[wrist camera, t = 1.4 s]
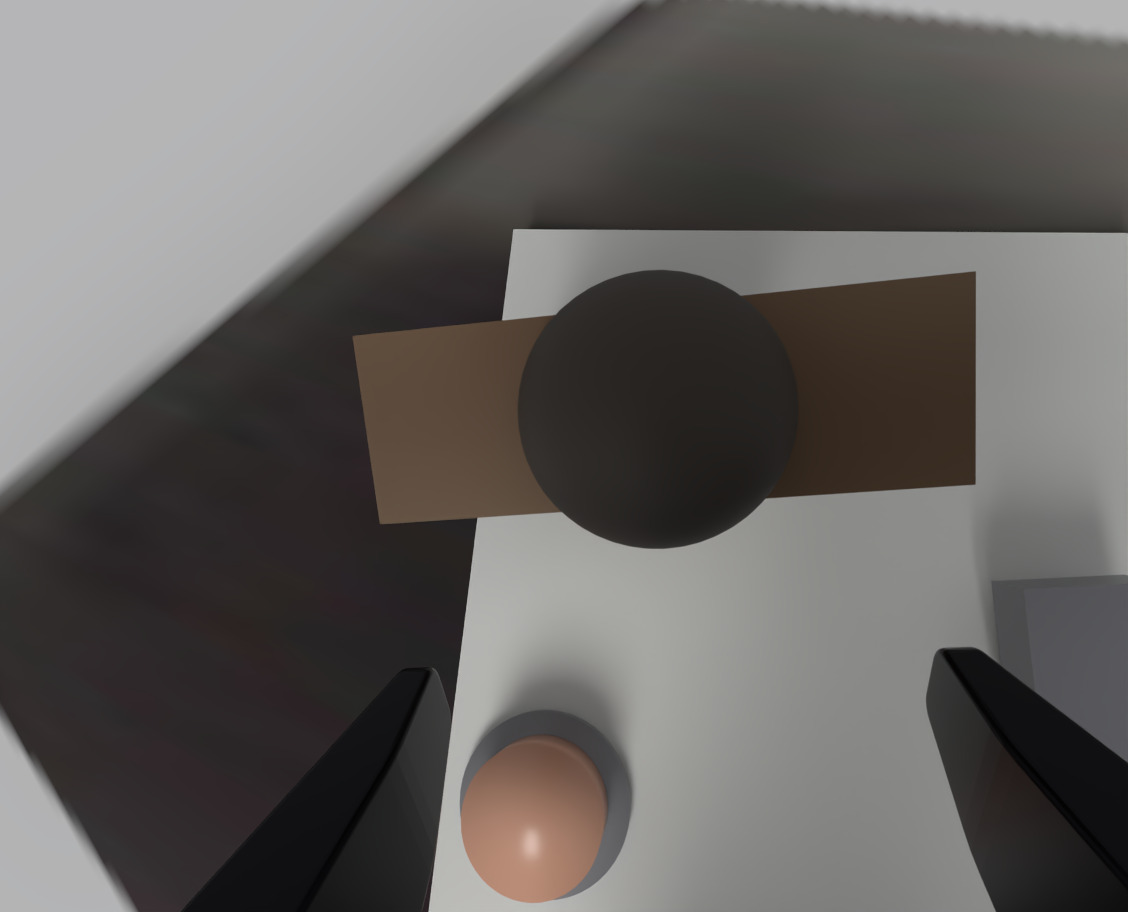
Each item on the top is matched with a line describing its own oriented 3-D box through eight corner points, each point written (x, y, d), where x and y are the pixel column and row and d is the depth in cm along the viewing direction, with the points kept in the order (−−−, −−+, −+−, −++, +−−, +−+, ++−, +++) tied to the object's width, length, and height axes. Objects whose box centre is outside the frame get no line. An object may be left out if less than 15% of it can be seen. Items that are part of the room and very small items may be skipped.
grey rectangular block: (1146, 749, 17) (1195, 774, 16) (1010, 752, 18) (1044, 777, 16) (1124, 574, 18) (1170, 581, 16) (991, 581, 18) (1023, 588, 16)
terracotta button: (601, 886, 18) (595, 914, 16) (471, 865, 19) (452, 890, 17) (612, 742, 19) (607, 754, 17) (487, 726, 20) (470, 737, 18)
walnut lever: (751, 389, 22) (1108, 570, 5) (551, 406, 22) (291, 610, 6) (747, 305, 21) (1121, 200, 5) (543, 326, 22) (238, 300, 5)
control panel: (1203, 1052, 17) (1275, 1109, 15) (442, 917, 20) (417, 950, 18) (1126, 258, 22) (1172, 222, 20) (522, 251, 25) (509, 219, 23)
